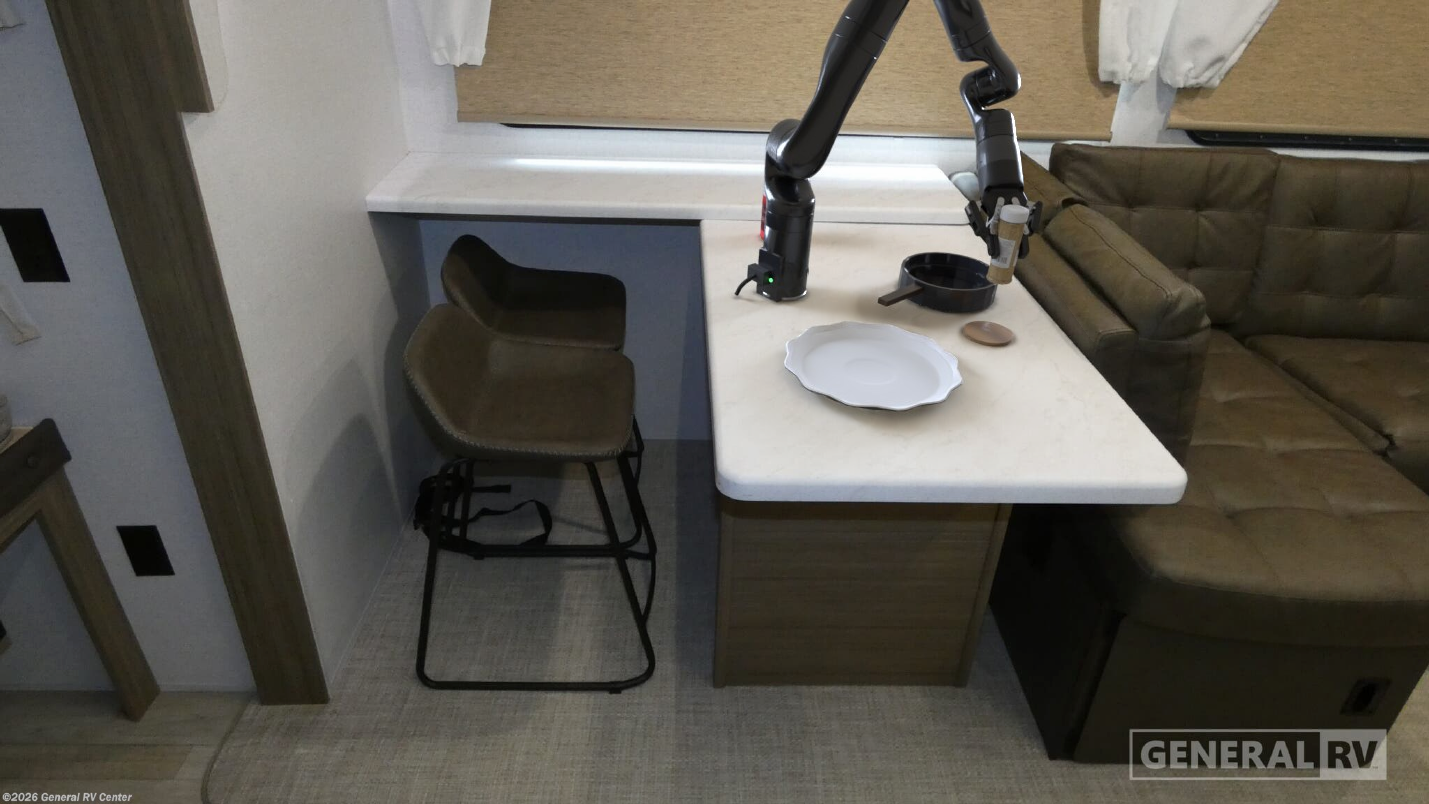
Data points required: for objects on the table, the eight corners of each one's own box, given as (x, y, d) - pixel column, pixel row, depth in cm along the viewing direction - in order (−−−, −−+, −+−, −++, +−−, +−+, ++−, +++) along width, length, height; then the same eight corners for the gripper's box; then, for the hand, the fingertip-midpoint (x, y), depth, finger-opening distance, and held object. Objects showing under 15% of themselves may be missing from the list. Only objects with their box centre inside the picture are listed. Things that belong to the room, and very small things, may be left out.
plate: (754, 347, 147) (755, 335, 146) (894, 323, 157) (896, 311, 156) (839, 436, 125) (841, 423, 123) (996, 401, 135) (999, 388, 134)
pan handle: (913, 288, 164) (914, 283, 163) (922, 292, 162) (923, 287, 161) (877, 303, 157) (878, 297, 157) (886, 307, 156) (887, 301, 155)
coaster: (994, 350, 150) (995, 348, 149) (953, 332, 155) (953, 329, 155) (1022, 336, 155) (1022, 334, 155) (980, 319, 160) (981, 316, 160)
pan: (956, 322, 159) (962, 298, 156) (878, 288, 171) (882, 265, 168) (1012, 297, 170) (1018, 274, 167) (935, 266, 182) (939, 245, 179)
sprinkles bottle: (1016, 282, 150) (1035, 210, 142) (999, 287, 147) (1017, 214, 140) (996, 273, 153) (1014, 202, 146) (980, 278, 151) (996, 206, 143)
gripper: (968, 156, 145) (978, 249, 141) (1047, 157, 146) (1059, 249, 143) (952, 177, 152) (961, 265, 149) (1027, 178, 154) (1038, 265, 150)
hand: (1009, 257), depth 146 cm, fingers closed on sprinkles bottle, 4 cm apart
